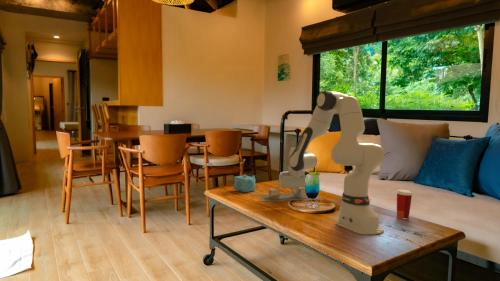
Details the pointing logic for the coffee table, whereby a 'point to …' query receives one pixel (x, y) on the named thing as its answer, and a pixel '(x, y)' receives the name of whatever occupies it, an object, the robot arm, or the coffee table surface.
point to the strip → (289, 196)
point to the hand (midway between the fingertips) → (294, 194)
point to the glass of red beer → (403, 203)
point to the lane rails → (284, 200)
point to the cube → (274, 193)
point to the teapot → (244, 183)
